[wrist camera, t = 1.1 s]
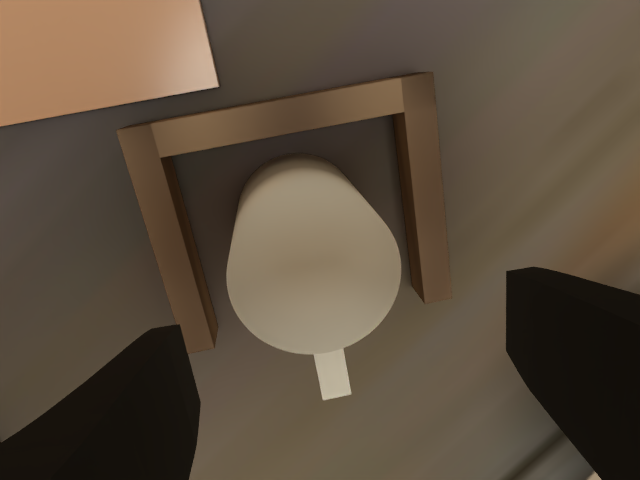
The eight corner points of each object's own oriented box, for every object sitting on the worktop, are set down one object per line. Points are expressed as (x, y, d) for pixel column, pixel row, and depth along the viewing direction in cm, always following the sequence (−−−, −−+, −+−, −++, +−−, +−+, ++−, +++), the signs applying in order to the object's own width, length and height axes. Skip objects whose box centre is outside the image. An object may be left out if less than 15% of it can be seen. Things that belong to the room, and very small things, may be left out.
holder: (191, 332, 21) (185, 354, 20) (129, 125, 18) (115, 130, 16) (437, 281, 22) (452, 298, 20) (417, 72, 19) (433, 71, 17)
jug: (371, 306, 22) (418, 404, 15) (264, 328, 22) (265, 438, 15) (346, 142, 19) (390, 175, 13) (225, 165, 19) (206, 211, 13)
